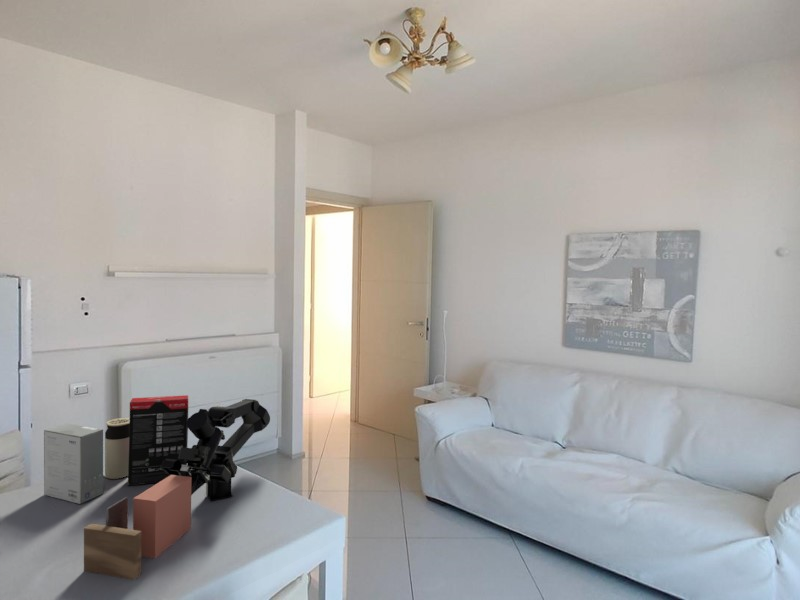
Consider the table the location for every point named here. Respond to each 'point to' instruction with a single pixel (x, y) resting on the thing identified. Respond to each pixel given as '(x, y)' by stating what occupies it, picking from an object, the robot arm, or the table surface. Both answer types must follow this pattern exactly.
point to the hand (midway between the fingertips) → (182, 501)
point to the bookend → (118, 514)
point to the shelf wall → (112, 551)
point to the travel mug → (117, 448)
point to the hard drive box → (73, 462)
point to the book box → (162, 514)
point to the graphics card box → (155, 436)
